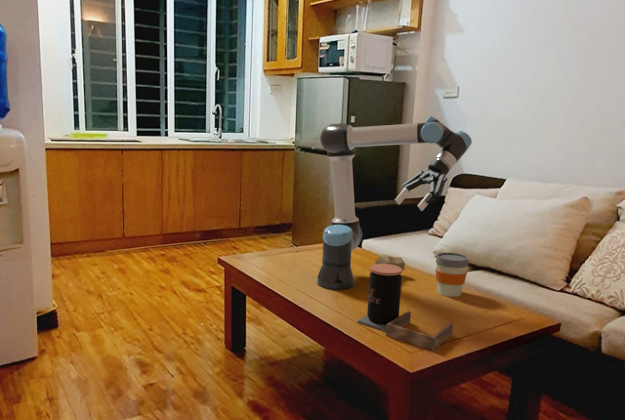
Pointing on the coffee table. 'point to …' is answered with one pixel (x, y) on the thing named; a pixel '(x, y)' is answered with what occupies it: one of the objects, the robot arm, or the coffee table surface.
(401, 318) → the walnut holder
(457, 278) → the reusable coffee cup
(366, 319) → the charcoal mat
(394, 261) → the low-poly potato
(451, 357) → the coffee table surface
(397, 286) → the coffee jar
